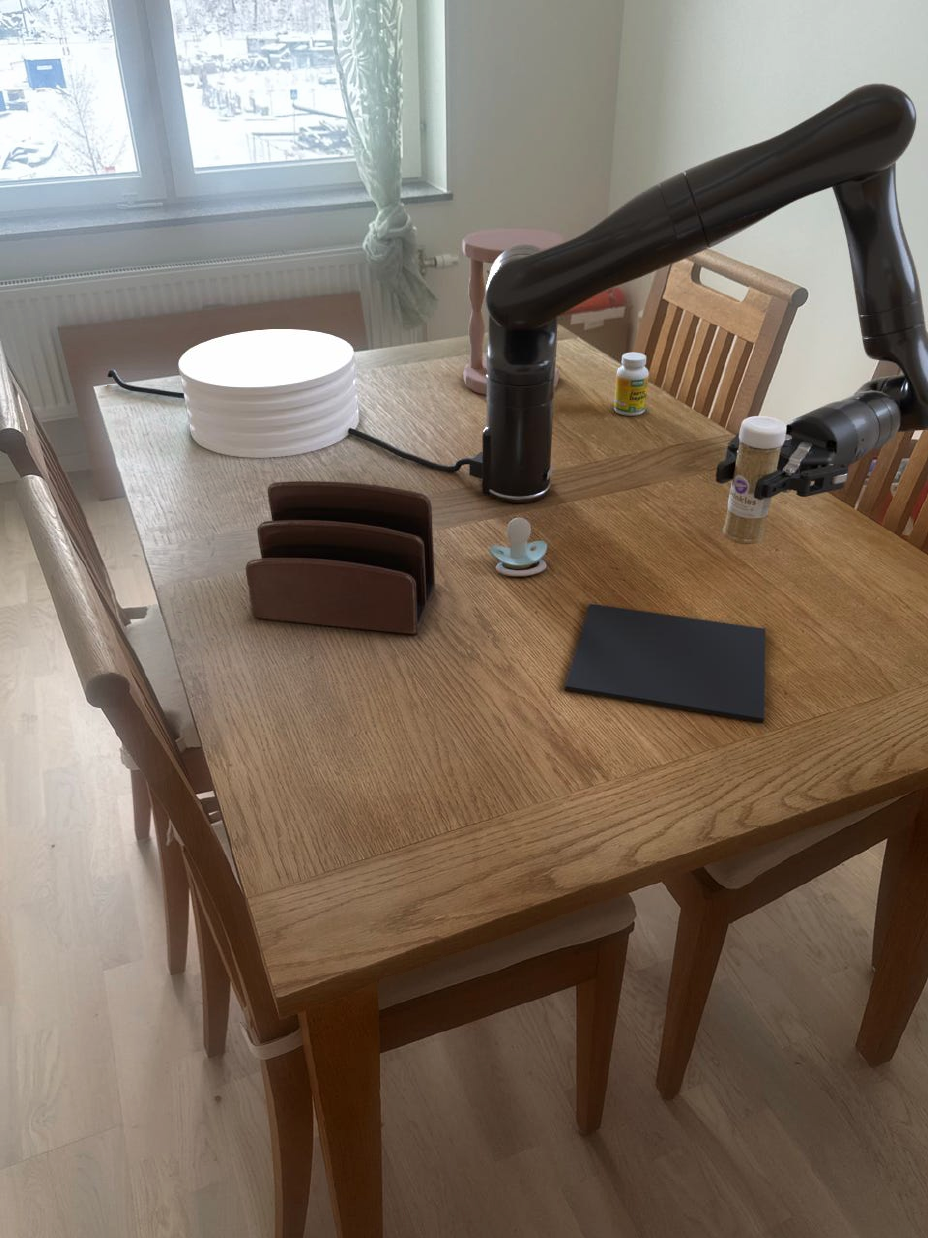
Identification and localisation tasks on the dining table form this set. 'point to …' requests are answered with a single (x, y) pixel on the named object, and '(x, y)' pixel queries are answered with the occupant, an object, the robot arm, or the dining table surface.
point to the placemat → (671, 662)
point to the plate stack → (270, 392)
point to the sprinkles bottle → (752, 478)
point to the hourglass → (486, 250)
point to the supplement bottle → (631, 385)
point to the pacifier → (519, 551)
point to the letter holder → (344, 557)
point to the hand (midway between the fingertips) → (738, 482)
